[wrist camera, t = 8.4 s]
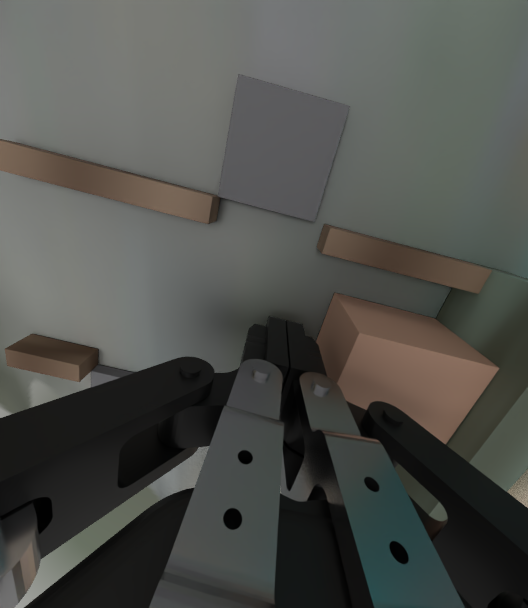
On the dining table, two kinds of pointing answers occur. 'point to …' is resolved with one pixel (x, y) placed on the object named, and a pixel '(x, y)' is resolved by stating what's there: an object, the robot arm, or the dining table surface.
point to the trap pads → (273, 156)
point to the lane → (354, 247)
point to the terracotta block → (402, 363)
